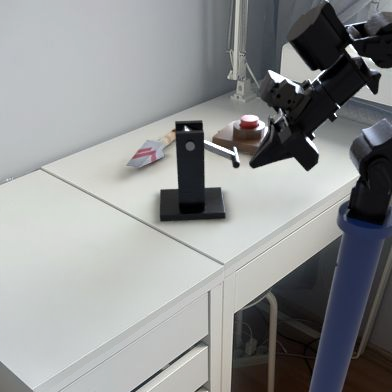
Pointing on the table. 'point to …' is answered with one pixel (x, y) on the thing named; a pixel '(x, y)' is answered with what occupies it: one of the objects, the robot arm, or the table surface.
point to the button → (249, 122)
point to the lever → (220, 150)
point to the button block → (240, 137)
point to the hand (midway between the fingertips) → (250, 166)
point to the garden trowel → (151, 151)
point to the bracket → (191, 180)
